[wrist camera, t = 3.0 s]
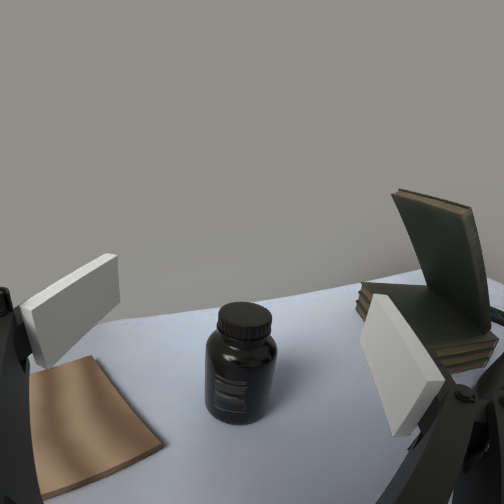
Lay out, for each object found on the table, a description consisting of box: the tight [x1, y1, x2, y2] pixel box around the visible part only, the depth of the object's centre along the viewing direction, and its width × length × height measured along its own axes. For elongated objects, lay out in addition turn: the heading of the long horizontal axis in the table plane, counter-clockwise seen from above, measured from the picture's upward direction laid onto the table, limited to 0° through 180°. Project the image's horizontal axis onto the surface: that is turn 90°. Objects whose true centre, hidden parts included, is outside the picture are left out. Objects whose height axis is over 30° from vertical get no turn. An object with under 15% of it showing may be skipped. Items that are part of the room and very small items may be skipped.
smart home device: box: [490, 306, 504, 326], centre depth 50 cm, size 8×2×20 cm
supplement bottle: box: [205, 302, 277, 425], centre depth 27 cm, size 7×7×12 cm
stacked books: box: [356, 189, 499, 374], centre depth 40 cm, size 23×20×25 cm
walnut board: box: [29, 355, 163, 500], centre depth 20 cm, size 16×16×1 cm
